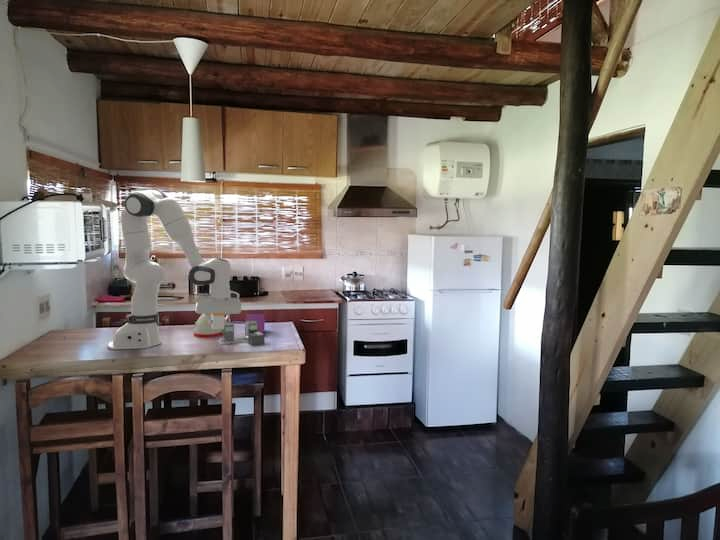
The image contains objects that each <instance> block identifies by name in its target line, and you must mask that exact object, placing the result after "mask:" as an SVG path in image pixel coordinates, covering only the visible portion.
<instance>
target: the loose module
mask: <svg viewBox="0 0 720 540" xmlns="http://www.w3.org/2000/svg"><path fill="white" fill-rule="evenodd" d="M225 316H226V314H212V320H213V323H212V324H211V328H212V329H224V319H225V318H226V317H225Z"/></svg>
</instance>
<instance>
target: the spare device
mask: <svg viewBox="0 0 720 540" xmlns="http://www.w3.org/2000/svg"><path fill="white" fill-rule="evenodd" d="M247 344H248V345H249V346H252V347H256V346H264V345H265V334H263V333H260V332H254V333H251V334H248V342H247Z"/></svg>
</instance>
